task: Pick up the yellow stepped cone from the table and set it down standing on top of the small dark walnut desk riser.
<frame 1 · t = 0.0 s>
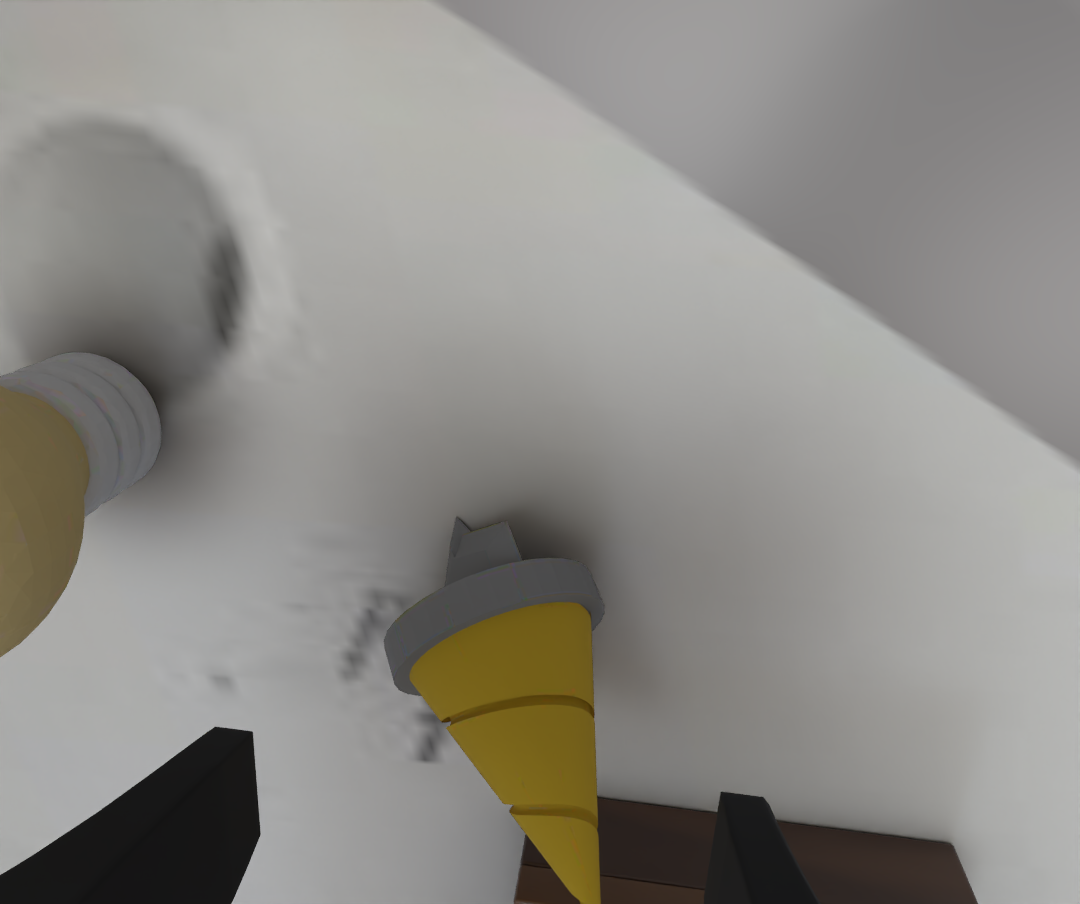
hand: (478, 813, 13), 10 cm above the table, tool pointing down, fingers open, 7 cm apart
yellow stepped cone: (545, 599, 23), on the table
light bulb: (111, 412, 23), on the table
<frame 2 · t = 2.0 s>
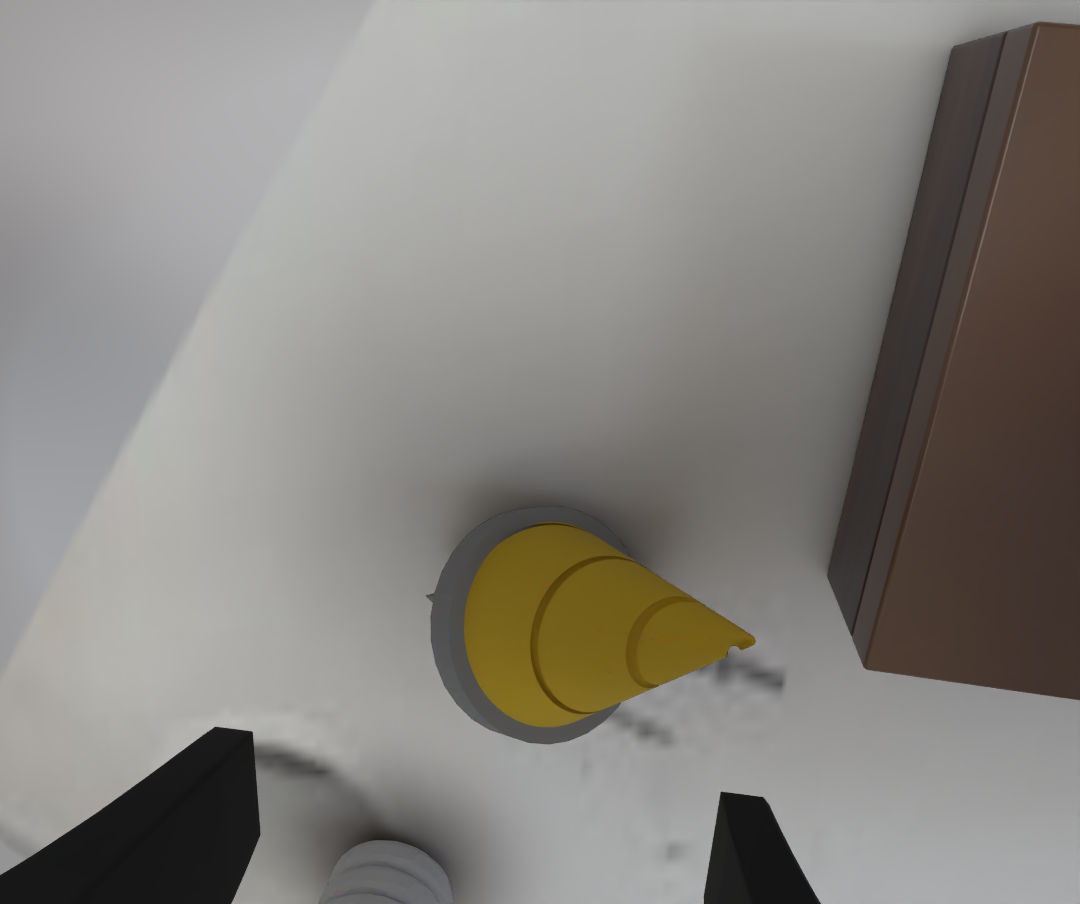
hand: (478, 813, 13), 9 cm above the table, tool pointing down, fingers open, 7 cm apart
yellow stepped cone: (575, 541, 22), on the table
light bulb: (399, 868, 27), on the table
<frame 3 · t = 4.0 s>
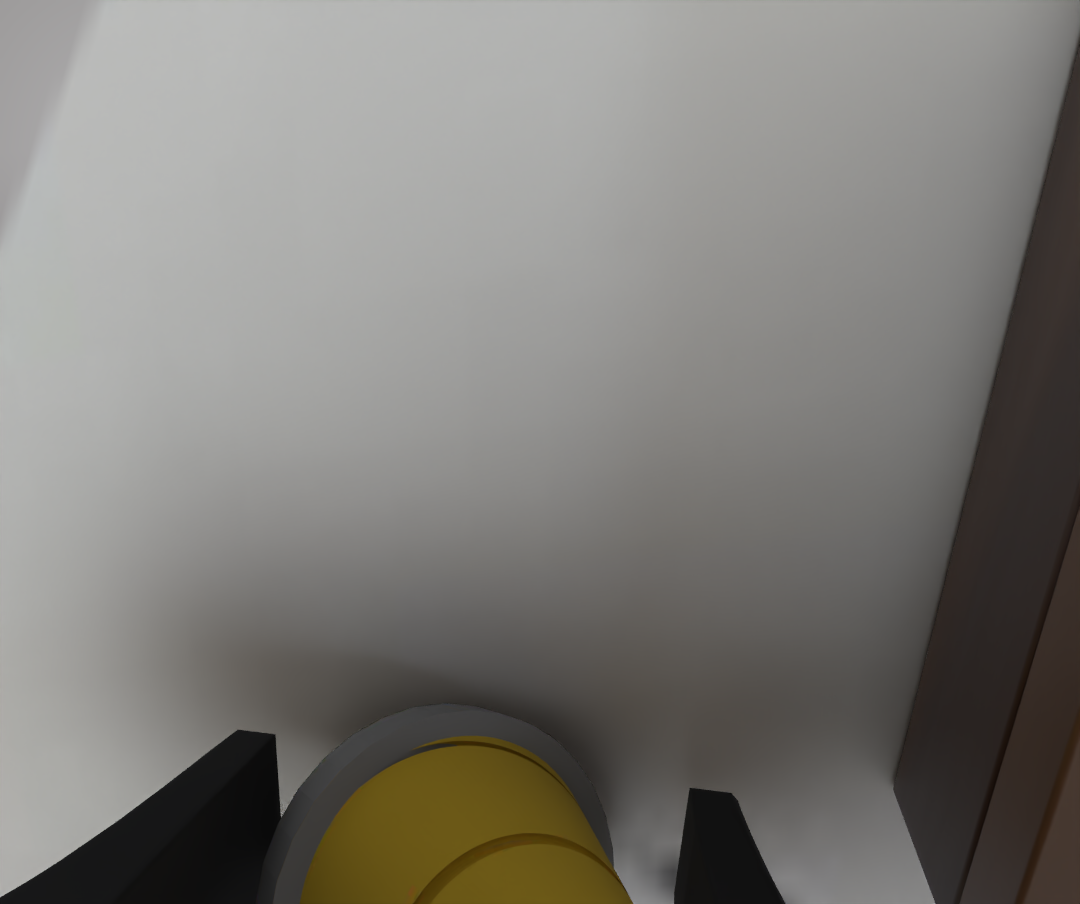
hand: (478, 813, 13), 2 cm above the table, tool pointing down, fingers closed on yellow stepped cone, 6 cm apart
yellow stepped cone: (511, 738, 15), on the table, touching gripper
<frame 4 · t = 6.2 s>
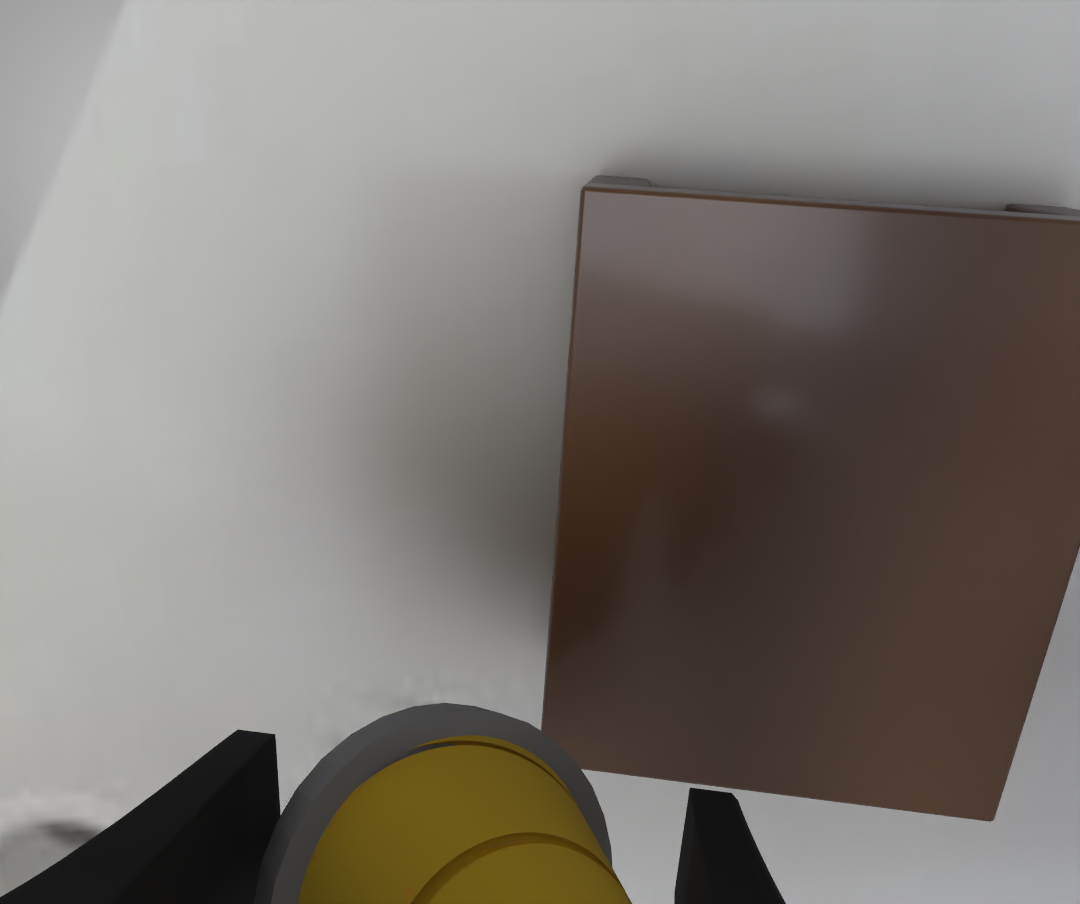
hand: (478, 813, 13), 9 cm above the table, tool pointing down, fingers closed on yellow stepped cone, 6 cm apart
yellow stepped cone: (509, 738, 15), point 7 cm above the table, touching gripper
desk riser: (778, 462, 20), on the table
when the fingers open (6 cm above the table, at t = 8.4 s): yellow stepped cone stays where it is, resting on desk riser.
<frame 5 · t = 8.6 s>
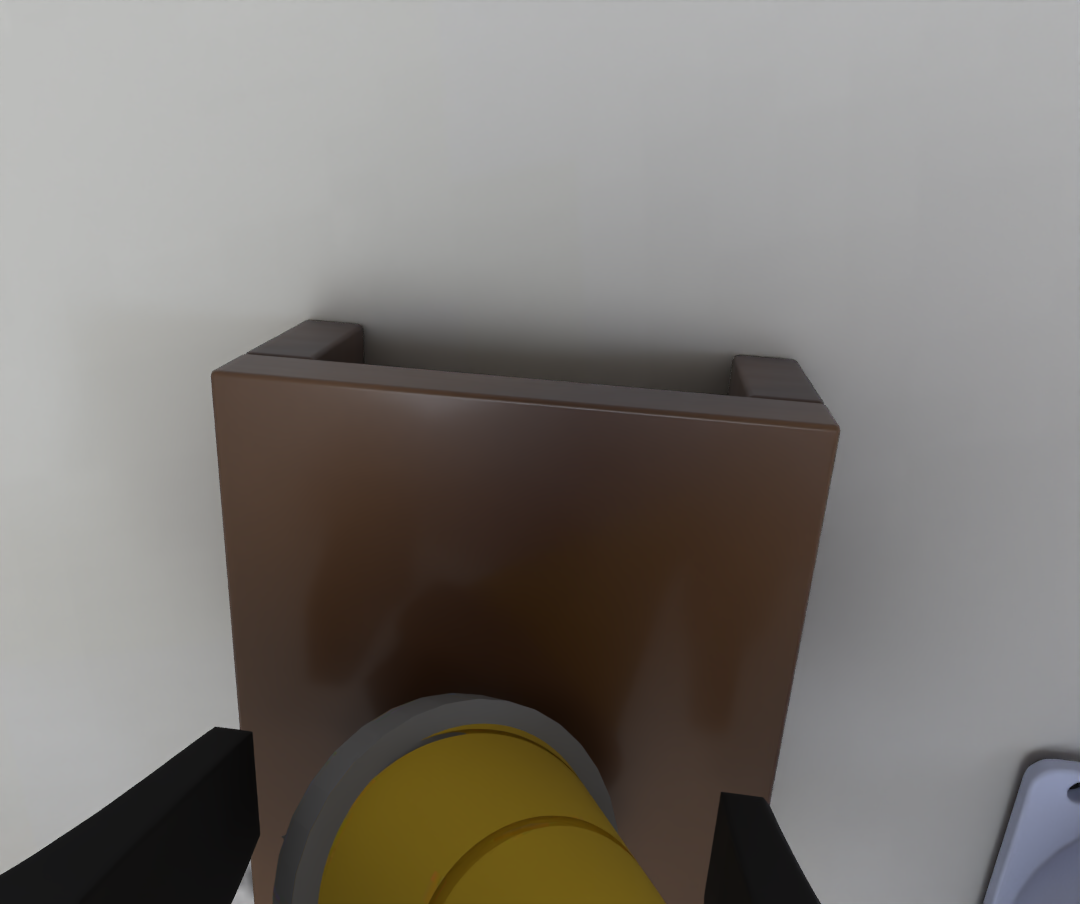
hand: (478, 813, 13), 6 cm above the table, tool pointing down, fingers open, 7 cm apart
yellow stepped cone: (514, 725, 15), point 4 cm above the table, touching desk riser, gripper
desk riser: (529, 610, 19), on the table
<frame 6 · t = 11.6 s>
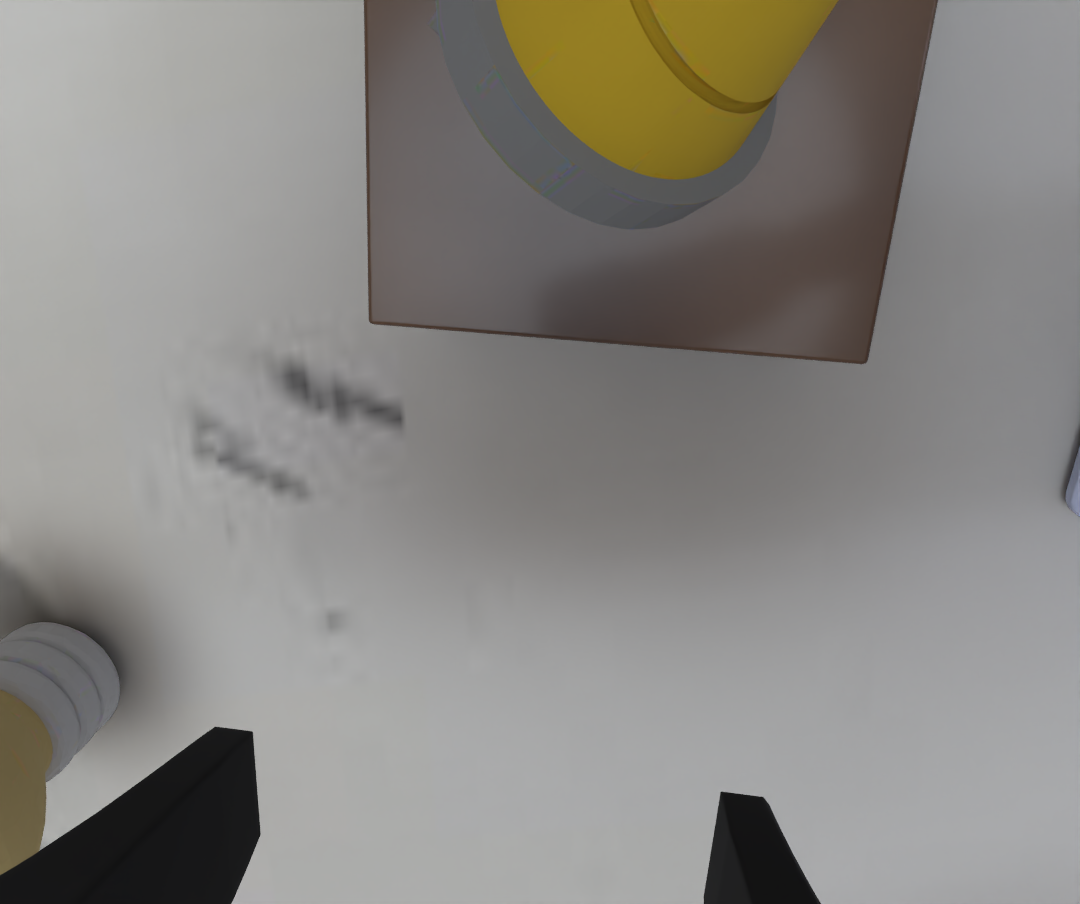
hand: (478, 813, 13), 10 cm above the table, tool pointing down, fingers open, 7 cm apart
desk riser: (643, 19, 18), on the table
light bulb: (76, 661, 26), on the table
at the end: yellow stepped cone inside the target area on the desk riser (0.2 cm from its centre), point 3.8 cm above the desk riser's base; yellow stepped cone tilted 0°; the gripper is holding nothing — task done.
